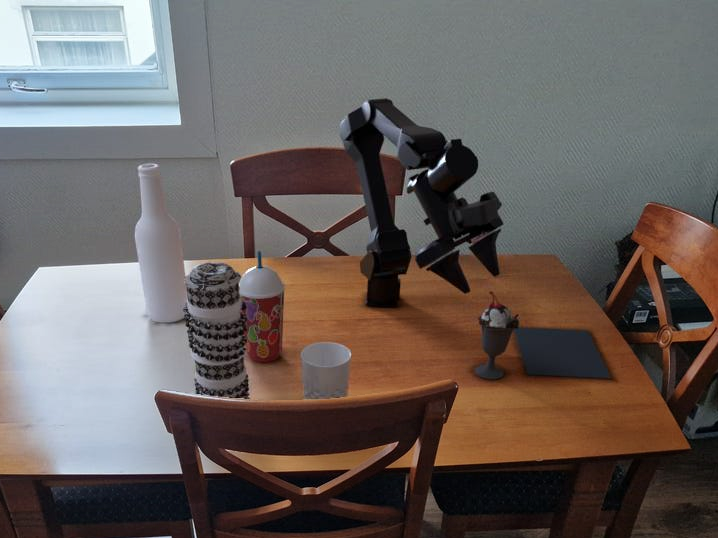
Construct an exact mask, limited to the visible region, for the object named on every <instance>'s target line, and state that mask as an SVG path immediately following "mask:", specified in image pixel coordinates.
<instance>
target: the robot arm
mask: <svg viewBox="0 0 718 538" xmlns="http://www.w3.org/2000/svg"><path fill="white" fill-rule="evenodd" d="M338 131H339V138H340V140H341V142H342V144H343V147H344V151H345V153H346V154H347V155H348V156H349V158H351V160H353V161H354V163H355V165H356V169H357V174H358V177H359V178H358V179H359V182H360V186H361V191H362V196H363V201H364V205H365V210H366V215H367V219H368V224H369V228H370V234H369V237H368V240H367V244H366V247H365V248H366V254H365V255H364V256H363V258H362V259H361V260H360V261H359V270H360V273H361V274H362V276H364V277H365V278H366V279H367V286H366V287H367V289H366V297H365V306H366V307H377V308H379V307H380V308H397V306H398V302H400V297H401V295H400V294H401V284H402V283H401V278H400V277H399V276H401V275H403V276H405V275H407V273H408V270H409V266H410V263H411V260H412V250H411V246H410V244H409V241H408V233H407V231H406V230H405V229H404V228H400V229H399V227H397V225H396V224H395V222H394V221H395V220H394V216H393V211H392V206H391V202H390V198H389V193H388V189H387V183H386V180H385V173H384V170H383V164H382V161H381V160H382V159H381V155H380V154H381V151H382V148H383V144H384V142H385V138H386V139H388V141H390V143H392V145H394V146H395V147H396V149H397V153H396V158H397V159H398V161H399V162H400V164H401V166H402V167H403V168H404V169H405V170H407V171H412V170H413V171H414V170H421V169H424V170H422V171H421V172H420V173H415V174H413V175H411V176H410V177H408V184H407V187H406V193H407V194H408V195H410V194H412V193H414V194H415V195H414V196H415V197H416V199H417V200H418V202H419V204H420V206H421V208H422V210H423V211H424V213H425V216H426V218H425V219H424V220H423V223H424V225H425V226H426V227H427V226H429V225H431V226H432V228H433V230H434V232H435V234H436V236H437V239H435V240H433V241H431V242H430V243H428V244H427V245H425V246H423V247H422V248H421V249H419V250H418V251H416V252H415V256H414V261H415V263H416V265H417V266H418V268H419V270H421V269H424V268H425V267H426V268H425V270H426V272H431V273H434V274H435V275H436V276H438V277H440V278H442V279H443V280H445V281H446V282H447V283H449V284H451V285H452V286H453V287H455V288H456V289H458V290H459V291H460V292H462V293H463V294H464V295H465V294H468V293H470V292H471V287H470V285H469V282H468V280H467V278H466V276H465V274H464V271H463V269H462V266H461V265H460V262H459V258H460V252H461V251H460V249H457V250H455V249H456V248H457V247H459V246H461V245H463V244H465V243H467V244H469V245H470V246H468V249H469V251H470V252H471V253H472V254H473V255H474V257H475V258H477V260H478V261H479V262H480V263H481V265H482V266H483V267H484V268H485V269H486V270H487V272H489V273H490V275H491V276H493V277H498V276H499V275H500V274H501V271H500V266H499V265H500V264H499V260H498V252H497V244H496V243H497V239H498V236H499V234H500V233H501V232H502V228H500V227H502V226H504V225H505V224H504V222H503V219H502V218H501V216H500V214H499V210H500V209H501V207H502V206H503V203H502V201H500V198H499V197H498V196H497V195H496V193H495V191H493V190H492V191H489V192H488V191H487V192H485V193H483V194H481V195H480V197H479V200H478V201H475V202H471V203H468V201H467V199H466V198H464V196H462V197H460V198H458V197H457V195H456V193H455V192H456V191H458V190H459V189H460V188H461V187H462V186H463V185H465V184H466V183H467V182H469V181H470V180H471V179H472V178H473V177H474V176H475V175H476V173H477V172H478V170H479V159H478V156H477V155H476V154H475V152H474V151H473V150H472V149H471V148H469V146H466V145H464V144H463V140H462V138H453V139H449V140H448V139H446V136H445V135H444V134H443V132H442V131H440V130H437V129H434V128H433V127H429V126H428V127H427V126H420V125H418V124H417V123H416V122H414V121H413V120H412V119H411V118H410V117H408V116H407V115H406V114H405V113H404V112H402V111H401V110H400V109H399V108H398V107H397V106H395V105H394V102H393V100H391V99H389V98H387V97H385V98H383V97H382V98H371V99H368V100H366V101H365V102H363V104H362V105H361V106H360V107H358V108H356V109H354V110H353V111H351V112H349V113H347V114H346V116H345V117H344V119H343V120H342V121H341V122H340V125H339V129H338Z"/></svg>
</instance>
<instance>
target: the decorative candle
mask: <svg viewBox="0 0 718 538" xmlns="http://www.w3.org/2000/svg"><path fill="white" fill-rule="evenodd" d="M241 278H242V275H241V274H240V273H239V272H237V271H236V270H235V269H234V268H233V267H232V266H231V265H229V264H227V263H224V262H220V261H208V262H203V263H200V264H198V265H195V266H194V267H193V268H192V269H191V271H190V272H189V274H187V275H185V279H184V282H185V285H186V288H187V296H188V298H187V302H186V307H184V308H183V312H184V313H185V314H184V321H185V323H184V326H185V327H186V328H187V330H186V334H187V339H188V342H189V343H188V347H189V349H190V354H191V359H193V360H194V363H195V368H194V375H195V377H194V379H193V381H194V387H195V395H196V394H201V395H209V396H218V397H229V398H244V399H250V400H251V398H250V397H249V396H250V392H249V391H250V387H249V386H250V384H249V380H250V379H249V374H247V366H246V363H245V356H246V354H247V352H246V351H247V348H246V346H245V344H246V343H247V339H246V336H244V334H245V332H246V331H247V328H246V325H245V322H246V321H247V318H246V316H245V314H243V313H241V312H240V309H241V307H242V311H244V310H246V309H247V306H246V303H245V302H243V301H242V299H241V295H240V293H239V291H240V287H239V283H240V280H241Z"/></svg>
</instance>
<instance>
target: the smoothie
mask: <svg viewBox="0 0 718 538" xmlns="http://www.w3.org/2000/svg"><path fill="white" fill-rule="evenodd" d="M256 255H257V265H255V266H252V267H250V268H249V269H247V270H246V271H245V272H244V273H243V275H241V280H240V282H239V287H240V291H239V293H240V295H241V299H242V301H243V302H245V303H246V306H247V309H246V310H244V311H242V307H241V309H240V312H241V313H243V314H245V316H246V318H247V321H246V322H245V325H246V328H247V331H246V332H245V334H244V336H246V339H247V343H246V344H245V346H246V348H247V351H246V354H248V358H250V360H252V361H254V362H258V363H269V362H272V361H275V360H276V359H278V358H279V357H280V354H281V352H282V350H283V331H284V307H285V306H284V305H285V289H286V288H285V287H286V284H285V283H284V282H283V281H282V279H281V277H280V275H279V274H278V273H277V271H275V270H274V269H273V268H271V267H269V266H266V265H263V264H262V251H260V250H259V251H256Z"/></svg>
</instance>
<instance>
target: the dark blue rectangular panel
mask: <svg viewBox="0 0 718 538" xmlns="http://www.w3.org/2000/svg"><path fill="white" fill-rule="evenodd" d="M513 332H514V336H515V339H516V342H517V345H518V349H519V353H520V356H521V359H522V361H523V364H524V365H523V366H524V369H525V372H526V375H527V376H542V377H543V376H544V377H559V378H580V379H594V380H595V379H596V380H597V379H598V380H613V378H612V376H611V375H612V374H610V372H609V370H608V368H607V366H606V363H605V361H604V360H603V357H602V355H601V354H600V352H599V350H598V348H597V345H596V344H595V342H594V340H593V338H592V335H591V334H590V332H589V330H588V329H567V328H544V327H520V326H518V329H514V330H513Z"/></svg>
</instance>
